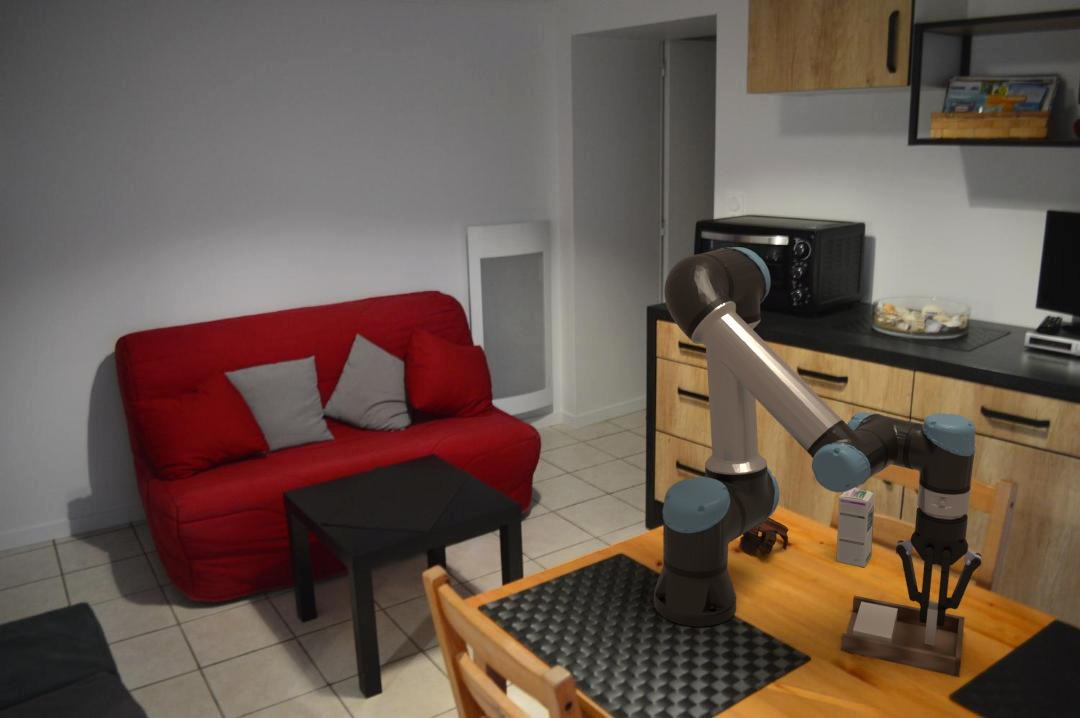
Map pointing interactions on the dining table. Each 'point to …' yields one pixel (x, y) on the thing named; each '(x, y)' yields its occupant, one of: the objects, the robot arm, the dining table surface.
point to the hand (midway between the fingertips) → (930, 640)
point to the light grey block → (875, 622)
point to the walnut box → (910, 640)
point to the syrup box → (855, 526)
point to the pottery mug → (763, 537)
